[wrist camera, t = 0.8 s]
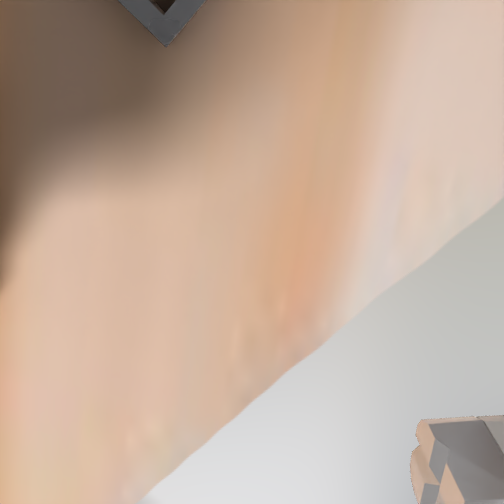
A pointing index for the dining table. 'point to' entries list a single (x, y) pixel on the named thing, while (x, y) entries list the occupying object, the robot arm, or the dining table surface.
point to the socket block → (163, 16)
